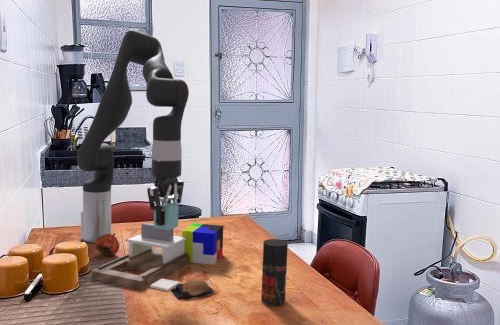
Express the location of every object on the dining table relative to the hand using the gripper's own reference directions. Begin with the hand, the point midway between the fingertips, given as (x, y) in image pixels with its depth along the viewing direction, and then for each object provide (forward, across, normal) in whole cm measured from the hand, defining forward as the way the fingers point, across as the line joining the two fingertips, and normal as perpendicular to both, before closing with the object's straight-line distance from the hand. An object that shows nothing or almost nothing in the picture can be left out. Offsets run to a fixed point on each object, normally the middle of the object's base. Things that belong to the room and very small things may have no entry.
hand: (165, 222), depth 124 cm
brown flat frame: (+17, -7, -12) cm, 22 cm away
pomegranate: (+17, -12, -29) cm, 36 cm away
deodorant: (+17, -4, +29) cm, 34 cm away
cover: (+15, -14, -12) cm, 23 cm away
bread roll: (+18, 0, +9) cm, 20 cm away
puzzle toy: (+18, -25, -2) cm, 31 cm away
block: (+1, 0, 0) cm, 1 cm away
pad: (+17, 0, 0) cm, 17 cm away
